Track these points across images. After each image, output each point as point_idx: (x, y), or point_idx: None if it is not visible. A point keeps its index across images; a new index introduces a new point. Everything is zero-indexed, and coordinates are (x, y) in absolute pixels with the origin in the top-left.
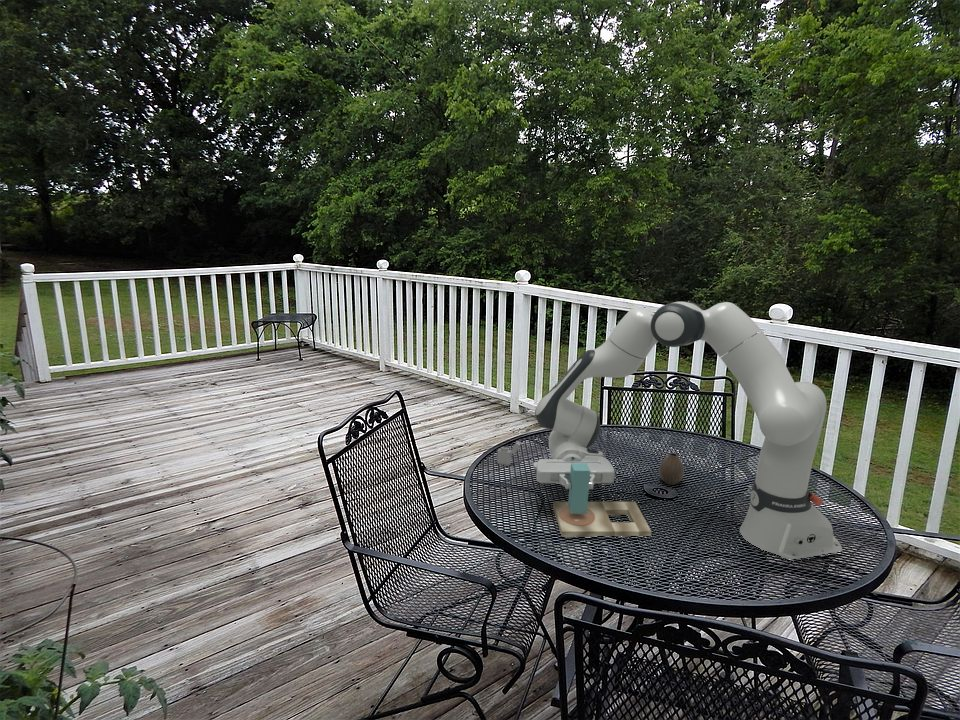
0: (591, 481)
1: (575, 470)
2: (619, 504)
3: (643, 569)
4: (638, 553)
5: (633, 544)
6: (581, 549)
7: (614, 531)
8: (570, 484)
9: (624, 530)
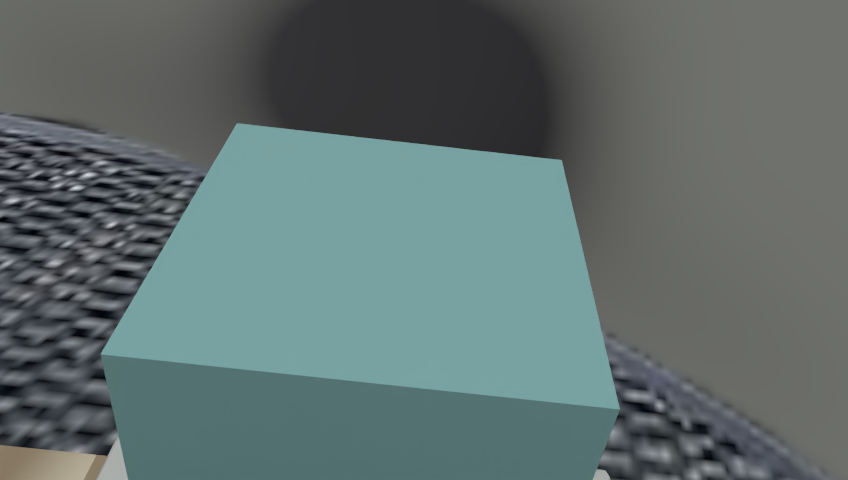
0: (125, 470)
1: (529, 162)
2: None
3: (134, 254)
4: (58, 347)
5: (13, 423)
6: None
7: (100, 455)
8: None
9: (2, 459)
